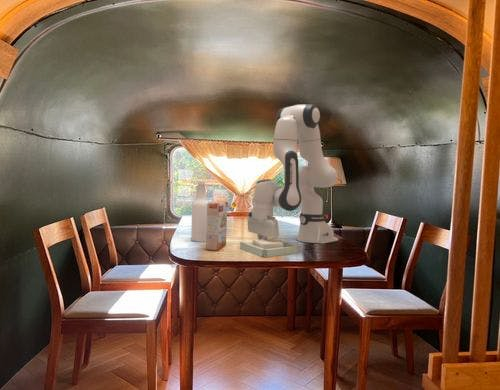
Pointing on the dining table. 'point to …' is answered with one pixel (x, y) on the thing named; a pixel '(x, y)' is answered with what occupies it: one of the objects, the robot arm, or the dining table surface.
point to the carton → (267, 243)
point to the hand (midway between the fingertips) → (262, 244)
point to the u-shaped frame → (284, 250)
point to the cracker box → (216, 225)
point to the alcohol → (199, 214)
